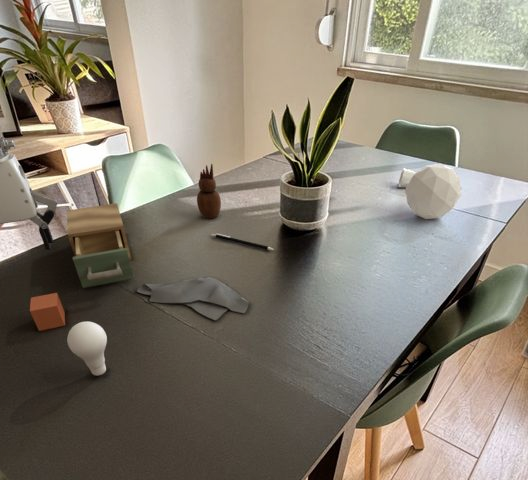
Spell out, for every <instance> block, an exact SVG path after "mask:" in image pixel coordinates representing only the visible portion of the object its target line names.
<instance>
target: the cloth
mask: <svg viewBox="0 0 528 480" xmlns="http://www.w3.org/2000/svg"><path fill="white" fill-rule="evenodd" d="M136 292H137V293H138V294H141V295H146V296H150V298H149V301H148V302H150V303H159V304H180V305H185V306H188V307H191V308H192V309H193V310H194V311H195V312H197V313H198V314H200V315H202V316H203V317H206V318H208V319H210V320H213V321H218V320H219V318H221V317H222V315H224V314H225V313H226V312H227V311H228V310H230V311H231V312H234V313H239V314H246V312H247V310H248V309H249V308H248V307H249V304H250V302H249V301H248V300H247V299H245V298H244V297H243V296H241V295H240V294H239V293H237V292H236V291H235V290H234V289H232V288H230V286H228V285H227V284H225V283H224V282H221V280H219V279H217V278H213V277H212V276H207V277H199V276H198V277H193V278H189V279H178V280H177V279H176V280H171V281H166V282H161V283H143V284H141V285H140V286H139V287H138V288H137V289H136Z"/></svg>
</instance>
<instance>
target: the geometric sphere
mask: <svg viewBox="0 0 528 480" xmlns="http://www.w3.org/2000/svg"><path fill="white" fill-rule="evenodd" d="M416 172H417V173H415V174H414V175H413V177H412V179H411V180H410V182H409V184H408V186H407V187H405V195H406V203H407V205H408V208H409V209H410V211H411V213H412V214H413V215H415V216H417V217H420V218H422V219H423V220H434V219H440V218H443V217H444V216H446V215H447V214H448V213H449V212H450V211H452V210H453V209H454V207H455V206H456V204H457V203H458V201H459V200H460V198H461V196H462V191H461V190H462V189H461V188H462V187H461V180H460V177H459V175H458V173H457V172H456V170H455V169H454V168H452V167H450V166H448V165H445V164H443V163H440V162H439V163H434V164H428V165H423V166H422V167H421V168H420V169H419V170H417V171H416Z"/></svg>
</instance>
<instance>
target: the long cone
mask: <svg viewBox="0 0 528 480" xmlns="http://www.w3.org/2000/svg"><path fill="white" fill-rule="evenodd" d="M417 172H418V171H414V170H410V169H407V168H403V169H402V170H401V173H400V176H399V179H398V184H397V186H398V188H406V187H407V186H408V184H409V182H410V180H411V179H412V177H413V175H414V174H415V173H417Z"/></svg>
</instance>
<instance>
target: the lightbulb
mask: <svg viewBox="0 0 528 480" xmlns="http://www.w3.org/2000/svg"><path fill="white" fill-rule="evenodd" d="M107 337H108V336H107V333H106V331H105V330H104V328H103V327H102V326H101V325H100V324H98V323H96V322H93V321H81V322H78V323H76V324H75V325H73V326H72V327H71V328H70V330H69V331H68V334H67V340H66V342H67V346H68V348H69V349H70V351H71V353H73V354H74V355H76V356H77V357H78V358H80V359H82V360H83V362H84V363H85V365H86V367H88V369H89V370H90V373H91V374H92V375H93V376H98V377H99V376H102V375H104V374H105V373H106V371H107V367H106V363H105V362H106V358H105V350H106V346H107V343H108V338H107Z"/></svg>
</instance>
